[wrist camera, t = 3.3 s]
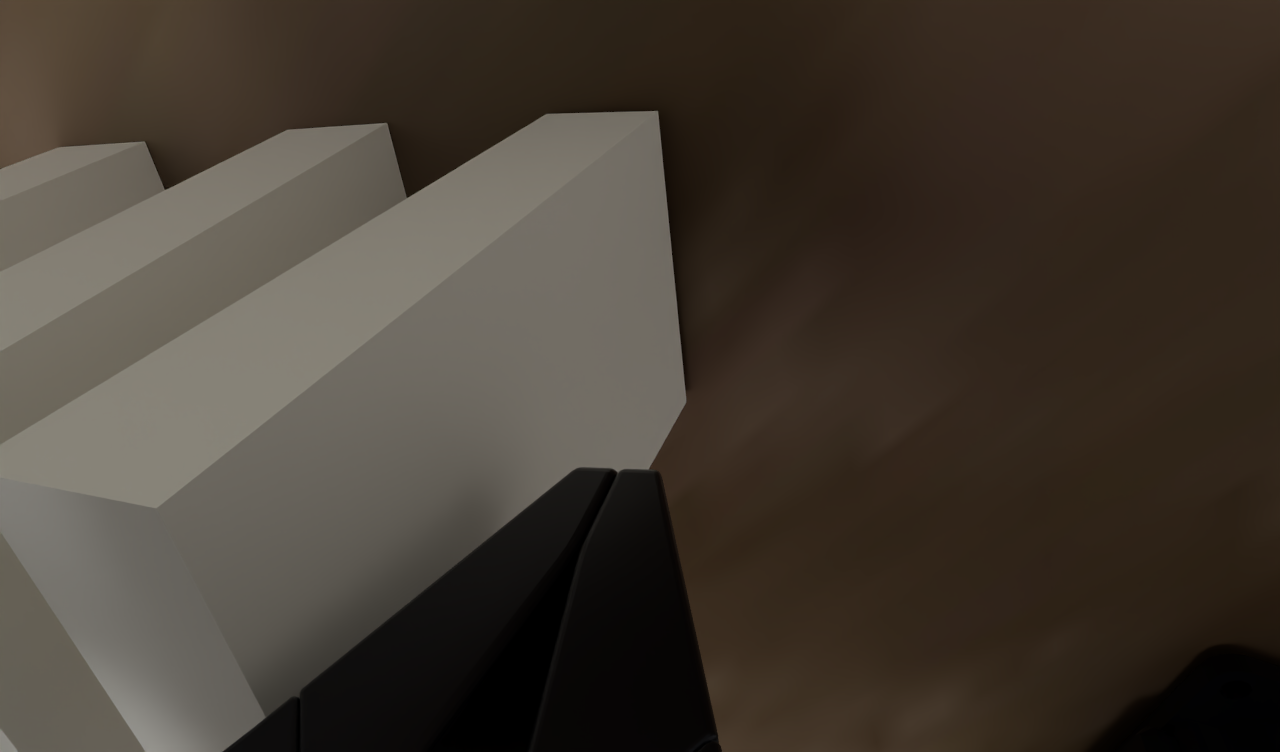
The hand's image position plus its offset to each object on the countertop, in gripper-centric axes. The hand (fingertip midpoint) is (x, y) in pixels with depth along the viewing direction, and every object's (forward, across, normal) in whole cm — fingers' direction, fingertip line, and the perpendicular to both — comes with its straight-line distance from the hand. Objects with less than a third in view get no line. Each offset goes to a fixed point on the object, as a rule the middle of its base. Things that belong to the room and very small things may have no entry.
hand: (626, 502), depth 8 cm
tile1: (+6, +1, 0) cm, 6 cm away
